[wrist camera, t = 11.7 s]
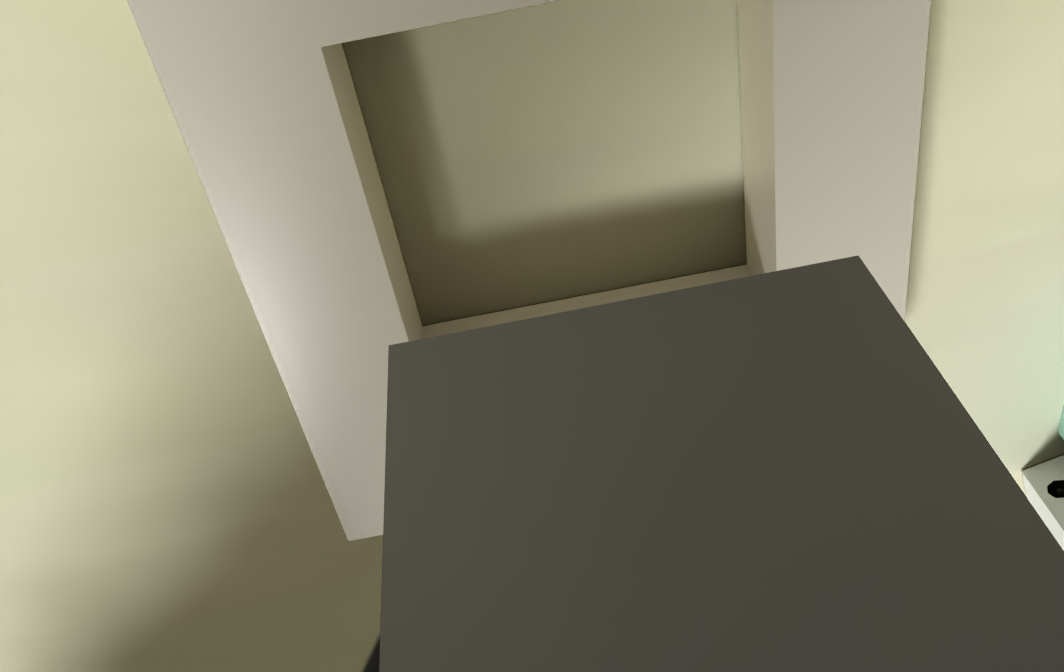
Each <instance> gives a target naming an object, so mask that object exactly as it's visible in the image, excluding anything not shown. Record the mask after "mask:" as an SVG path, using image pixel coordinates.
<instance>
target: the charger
mask: <svg viewBox="0 0 1064 672" xmlns="http://www.w3.org/2000/svg"><path fill="white" fill-rule="evenodd" d="M379 672H1064V550H1063V549H1062V548H1061V546H1060V545H1059V543H1058V542H1057V540H1056V539H1055V538H1054V536H1053V535H1052V533H1051V532H1050V530H1049V529H1048V527H1047V526H1046V525H1045V523H1044V522H1043V520H1042V519H1041V517H1040V516H1039V514H1038V513H1037V512H1036V510H1035V509H1034V507H1033V506H1032V504H1031V503H1030V502H1029V500H1028V499H1027V497H1026V496H1025V494H1024V493H1023V491H1022V490H1021V489H1020V487H1019V486H1018V484H1017V483H1016V481H1015V480H1014V479H1013V477H1012V476H1011V474H1010V473H1009V471H1008V470H1007V468H1006V467H1005V466H1004V464H1003V463H1002V461H1001V460H1000V458H999V457H998V455H997V454H996V453H995V451H994V450H993V448H992V447H991V445H990V444H989V443H988V441H987V440H986V438H985V437H984V435H983V434H982V432H981V431H980V430H979V428H978V427H977V425H976V424H975V422H974V421H973V419H972V418H971V417H970V415H969V414H968V412H967V411H966V409H965V408H964V407H963V405H962V404H961V402H960V401H959V399H958V398H957V396H956V395H955V394H954V392H953V391H952V389H951V388H950V386H949V385H948V383H947V382H946V381H945V379H944V378H943V376H942V375H941V373H940V372H939V371H938V369H937V368H936V366H935V365H934V363H933V362H932V360H931V359H930V358H929V356H928V355H927V353H926V352H925V350H924V349H923V348H922V346H921V345H920V343H919V342H918V340H917V339H916V337H915V336H914V335H913V333H912V332H911V330H910V329H909V327H908V326H907V324H906V323H905V322H904V320H903V319H902V317H901V316H900V314H899V313H898V312H897V310H896V309H895V307H894V306H893V304H892V303H891V301H890V300H889V299H888V297H887V296H886V294H885V293H884V291H883V290H882V288H881V287H880V286H879V284H878V283H877V281H876V280H875V278H874V277H873V276H872V274H871V273H870V271H869V270H868V268H867V267H866V265H865V264H864V263H863V261H862V260H861V258H860V257H859V255H858V256H852V257H847V258H842V259H837V260H831V261H826V262H821V263H816V264H811V265H805V266H800V267H795V268H790V269H784V270H779V271H774V272H769V273H764V274H758V275H753V276H748V277H743V278H738V279H732V280H727V281H722V282H717V283H711V284H706V285H701V286H696V287H691V288H685V289H680V290H675V291H670V292H664V293H659V294H654V295H649V296H644V297H638V298H633V299H628V300H623V301H618V302H612V303H607V304H602V305H597V306H591V307H586V308H581V309H576V310H571V311H565V312H560V313H555V314H550V315H544V316H539V317H534V318H529V319H524V320H518V321H513V322H508V323H503V324H497V325H492V326H487V327H482V328H477V329H471V330H466V331H461V332H456V333H451V334H445V335H440V336H435V337H430V338H424V339H419V340H414V341H409V342H404V343H398V344H393V345H389V350H388V385H387V420H386V454H385V489H384V524H383V559H382V593H381V628H380V663H379Z"/></svg>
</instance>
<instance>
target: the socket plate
mask: <svg viewBox="0 0 1064 672" xmlns="http://www.w3.org/2000/svg"><path fill="white" fill-rule="evenodd" d="M554 1H559V0H127V2H128V4H129V7H130V9H131V12H132V14H133V17H134V19H135V22H136V24H137V26H138V29H139V31H140V34H141V36H142V39H143V41H144V44H145V46H146V48H147V51H148V53H149V56H150V58H151V61H152V63H153V66H154V68H155V70H156V73H157V75H158V78H159V80H160V83H161V85H162V88H163V90H164V92H165V95H166V97H167V100H168V102H169V105H170V107H171V110H172V112H173V114H174V117H175V119H176V122H177V124H178V127H179V129H180V132H181V134H182V136H183V139H184V141H185V144H186V146H187V149H188V151H189V153H190V156H191V158H192V161H193V163H194V166H195V168H196V171H197V173H198V175H199V178H200V180H201V183H202V185H203V188H204V190H205V193H206V195H207V197H208V200H209V202H210V205H211V207H212V210H213V212H214V215H215V217H216V219H217V222H218V224H219V227H220V229H221V232H222V234H223V237H224V239H225V241H226V244H227V246H228V249H229V251H230V254H231V256H232V259H233V261H234V263H235V266H236V268H237V271H238V273H239V276H240V278H241V281H242V283H243V285H244V288H245V290H246V293H247V295H248V298H249V300H250V302H251V305H252V307H253V310H254V312H255V315H256V317H257V320H258V322H259V324H260V327H261V329H262V332H263V334H264V337H265V339H266V342H267V344H268V346H269V349H270V351H271V354H272V356H273V359H274V361H275V364H276V366H277V368H278V371H279V373H280V376H281V378H282V381H283V383H284V386H285V388H286V390H287V393H288V395H289V398H290V400H291V403H292V405H293V408H294V410H295V412H296V415H297V417H298V420H299V422H300V425H301V427H302V430H303V432H304V434H305V437H306V439H307V442H308V444H309V447H310V449H311V452H312V454H313V456H314V459H315V461H316V464H317V466H318V469H319V471H320V473H321V476H322V478H323V481H324V483H325V486H326V488H327V491H328V493H329V495H330V498H331V500H332V503H333V505H334V508H335V510H336V513H337V515H338V517H339V520H340V522H341V525H342V527H343V530H344V532H345V535H346V537H347V539H348V541H353V540H358V539H364V538H369V537H374V536H380V535H383V524H384V489H385V454H386V420H387V385H388V350H389V345H393V344H398V343H404V342H409V341H414V340H419V339H424V338H430V337H435V336H440V335H445V334H451V333H456V332H461V331H466V330H471V329H477V328H482V327H487V326H492V325H497V324H503V323H508V322H513V321H518V320H524V319H529V318H534V317H539V316H544V315H550V314H555V313H560V312H565V311H571V310H576V309H581V308H586V307H591V306H597V305H602V304H607V303H612V302H618V301H623V300H628V299H633V298H638V297H644V296H649V295H654V294H659V293H664V292H670V291H675V290H680V289H685V288H691V287H696V286H701V285H706V284H711V283H717V282H722V281H727V280H732V279H738V278H743V277H748V276H753V275H758V274H764V273H769V272H774V271H779V270H784V269H790V268H795V267H800V266H805V265H811V264H816V263H821V262H826V261H831V260H837V259H842V258H847V257H852V256H858V255H859V257H860V258H861V260H862V261H863V263H864V264H865V265H866V267H867V268H868V270H869V271H870V273H871V274H872V276H873V277H874V278H875V280H876V281H877V283H878V284H879V286H880V287H881V288H882V290H883V291H884V293H885V294H886V296H887V297H888V299H889V300H890V301H891V303H892V304H893V306H894V307H895V309H896V310H897V312H898V313H899V314H900V316H901V317H902V319H903V320H904V322H905V310H906V298H907V286H908V274H909V262H910V250H911V238H912V226H913V213H914V201H915V189H916V177H917V165H918V153H919V141H920V129H921V116H922V104H923V92H924V80H925V68H926V56H927V44H928V31H929V19H930V7H931V0H737V6H738V33H739V61H740V89H741V116H742V144H743V172H744V200H745V227H746V255H747V265H741V266H736V267H731V268H725V269H720V270H715V271H710V272H704V273H699V274H694V275H689V276H683V277H678V278H673V279H668V280H662V281H657V282H652V283H647V284H641V285H636V286H631V287H626V288H620V289H615V290H610V291H605V292H599V293H594V294H589V295H584V296H578V297H573V298H568V299H563V300H557V301H552V302H547V303H542V304H536V305H531V306H526V307H521V308H515V309H510V310H505V311H500V312H494V313H489V314H484V315H479V316H473V317H468V318H463V319H458V320H452V321H447V322H442V323H437V324H431V325H426V326H422V323H421V319H420V316H419V312H418V309H417V305H416V302H415V298H414V295H413V291H412V288H411V284H410V281H409V277H408V274H407V270H406V267H405V263H404V260H403V256H402V253H401V249H400V246H399V242H398V239H397V235H396V232H395V228H394V225H393V221H392V218H391V214H390V211H389V207H388V204H387V200H386V197H385V193H384V190H383V186H382V183H381V179H380V176H379V172H378V169H377V165H376V162H375V158H374V155H373V151H372V148H371V144H370V141H369V137H368V134H367V130H366V127H365V123H364V120H363V116H362V113H361V109H360V106H359V102H358V99H357V95H356V92H355V88H354V85H353V81H352V78H351V74H350V70H349V67H348V63H347V60H346V56H345V53H344V49H343V46H342V43H344V42H350V41H355V40H360V39H365V38H370V37H375V36H380V35H385V34H390V33H396V32H401V31H406V30H411V29H416V28H421V27H426V26H431V25H436V24H442V23H447V22H452V21H457V20H462V19H467V18H472V17H477V16H482V15H488V14H493V13H498V12H503V11H508V10H513V9H518V8H523V7H528V6H534V5H539V4H544V3H549V2H554Z"/></svg>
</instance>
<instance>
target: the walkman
mask: <svg viewBox="0 0 1064 672" xmlns="http://www.w3.org/2000/svg"><path fill="white" fill-rule="evenodd" d="M1021 472H1022V476H1023V481H1024V485H1025V490H1026V494H1027V499H1028V500H1029V502H1030V503H1031V504H1032V506H1033V507H1034V509H1035V510H1036V512H1037V513H1038V514H1039V516H1040V517H1041V519H1042V520H1043V522H1044V523H1045V525H1046V526H1047V527H1048V529H1049V530H1050V532H1051V533H1052V535H1053V536H1054V538H1055V539H1056V540H1057V542H1058V543H1059V545H1060V546H1061V548H1062V549H1063V550H1064V455H1063V456H1060V457H1057V458H1055V459H1052V460H1049V461H1047V462H1044V463H1041V464H1038V465H1036V466H1033V467H1030V468H1028V469H1026V470H1023V471H1021Z"/></svg>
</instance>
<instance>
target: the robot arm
mask: <svg viewBox="0 0 1064 672" xmlns="http://www.w3.org/2000/svg"><path fill="white" fill-rule="evenodd" d="M379 663H380V632H379V634H378V637H377V639H376V641H375V643H374V645H373V647H372V649H371V651H370V654H369V656H368V658H367V660H366V662H365V664H364V666H363V668H362V671H361V672H379Z"/></svg>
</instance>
